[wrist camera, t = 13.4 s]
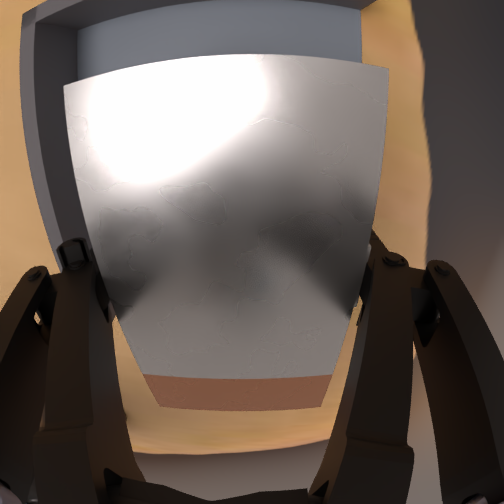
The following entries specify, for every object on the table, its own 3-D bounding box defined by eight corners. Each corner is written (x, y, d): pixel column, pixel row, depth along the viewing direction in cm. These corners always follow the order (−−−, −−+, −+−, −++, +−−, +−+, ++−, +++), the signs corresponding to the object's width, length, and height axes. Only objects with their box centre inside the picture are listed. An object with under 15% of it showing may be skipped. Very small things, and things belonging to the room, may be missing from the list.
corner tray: (112, 296, 24) (91, 340, 20) (68, 23, 12) (22, 13, 7) (333, 295, 24) (349, 342, 20) (356, -3, 12) (392, -27, 7)
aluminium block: (154, 83, 12) (63, 86, 5) (316, 78, 12) (388, 68, 5) (183, 304, 19) (159, 406, 12) (300, 302, 19) (320, 406, 12)
